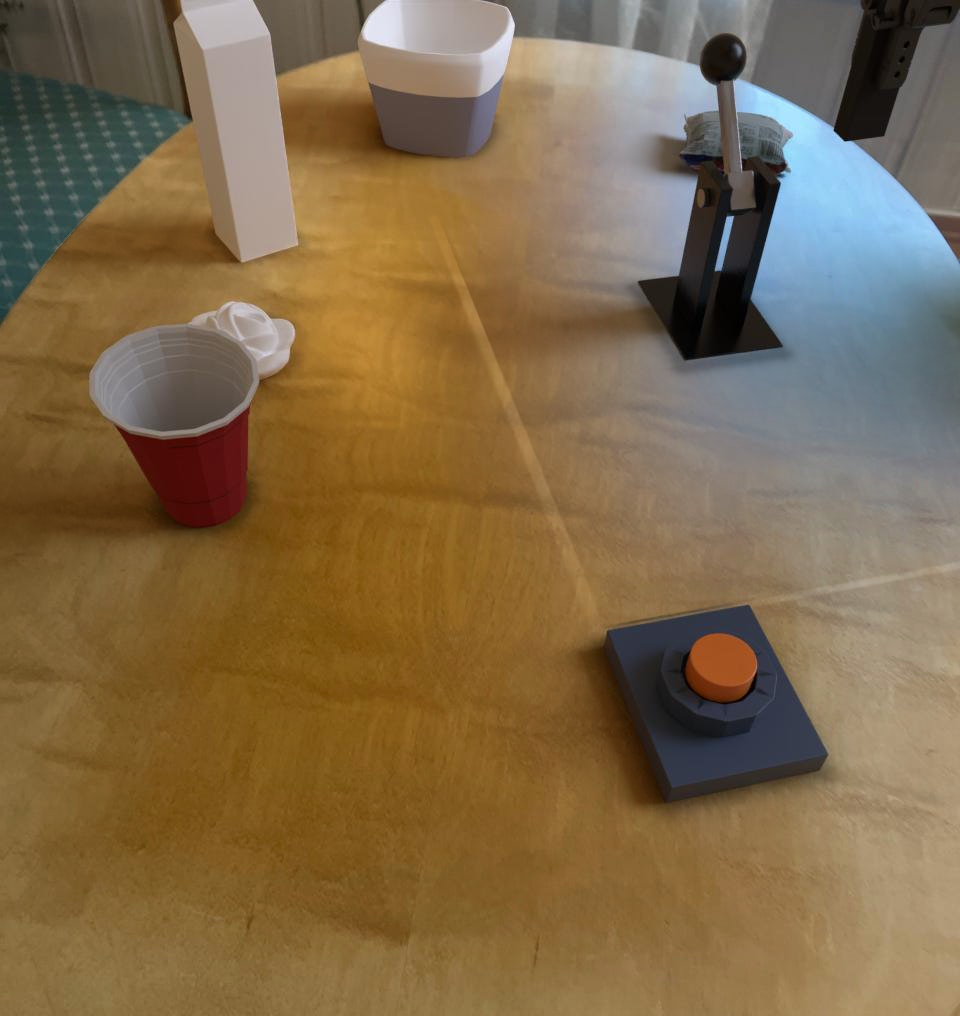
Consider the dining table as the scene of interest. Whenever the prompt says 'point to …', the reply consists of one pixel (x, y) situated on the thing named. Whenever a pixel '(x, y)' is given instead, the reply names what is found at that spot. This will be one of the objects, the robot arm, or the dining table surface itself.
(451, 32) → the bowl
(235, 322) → the rose
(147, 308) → the dining table surface
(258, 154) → the milk
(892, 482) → the dining table surface
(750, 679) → the button
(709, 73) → the lever
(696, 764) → the button box
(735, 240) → the bracket
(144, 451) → the plastic cup
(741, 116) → the packaged food
